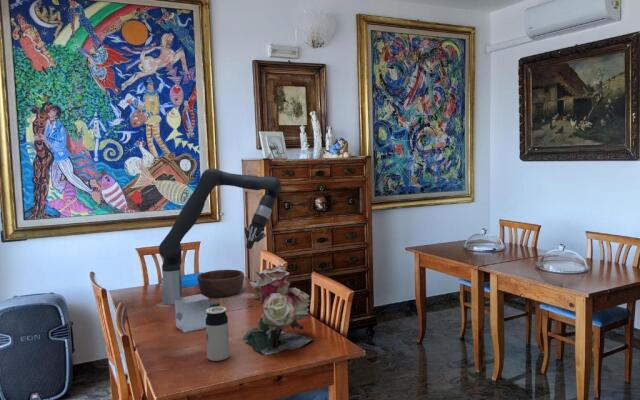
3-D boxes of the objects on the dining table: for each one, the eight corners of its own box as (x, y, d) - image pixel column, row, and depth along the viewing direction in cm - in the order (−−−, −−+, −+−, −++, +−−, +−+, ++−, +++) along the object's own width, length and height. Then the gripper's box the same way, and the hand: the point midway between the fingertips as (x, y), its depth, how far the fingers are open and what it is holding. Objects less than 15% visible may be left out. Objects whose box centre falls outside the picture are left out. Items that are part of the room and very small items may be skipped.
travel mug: (230, 352, 195) (228, 305, 193) (227, 361, 187) (225, 312, 185) (209, 353, 195) (207, 306, 193) (205, 362, 187) (203, 313, 185)
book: (161, 278, 308) (202, 271, 320) (161, 285, 309) (202, 278, 321) (168, 283, 293) (210, 276, 305) (168, 291, 294) (211, 283, 306)
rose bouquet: (268, 360, 187) (265, 278, 184) (236, 337, 211) (232, 265, 209) (327, 344, 200) (325, 268, 198) (290, 325, 225) (288, 257, 222)
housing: (184, 332, 219) (182, 303, 218) (176, 326, 228) (174, 298, 227) (210, 326, 226) (209, 298, 225) (202, 321, 234) (200, 293, 233)
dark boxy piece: (180, 330, 220) (178, 311, 220) (175, 327, 225) (174, 308, 225) (220, 321, 231) (219, 303, 230) (215, 318, 236) (214, 300, 235)
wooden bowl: (194, 291, 289) (193, 272, 288) (237, 285, 300) (236, 267, 299) (203, 301, 267) (202, 282, 266) (250, 294, 277) (249, 276, 276)
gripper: (247, 210, 256) (233, 243, 252) (267, 216, 248) (254, 249, 245) (256, 215, 262) (242, 247, 258) (276, 221, 255) (262, 254, 251)
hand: (248, 248), depth 252 cm, fingers closed
